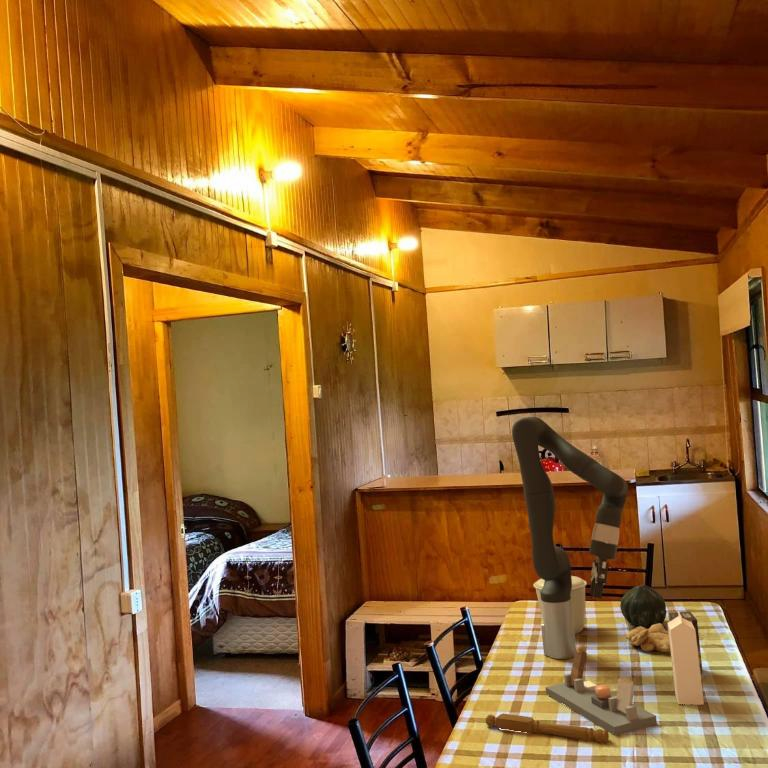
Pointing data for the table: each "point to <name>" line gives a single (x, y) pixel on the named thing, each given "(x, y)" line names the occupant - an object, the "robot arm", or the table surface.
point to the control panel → (596, 712)
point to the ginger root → (650, 638)
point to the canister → (576, 601)
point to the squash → (643, 606)
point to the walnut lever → (578, 663)
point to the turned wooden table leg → (546, 727)
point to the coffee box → (693, 620)
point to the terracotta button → (603, 691)
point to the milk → (685, 662)
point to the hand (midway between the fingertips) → (595, 596)
